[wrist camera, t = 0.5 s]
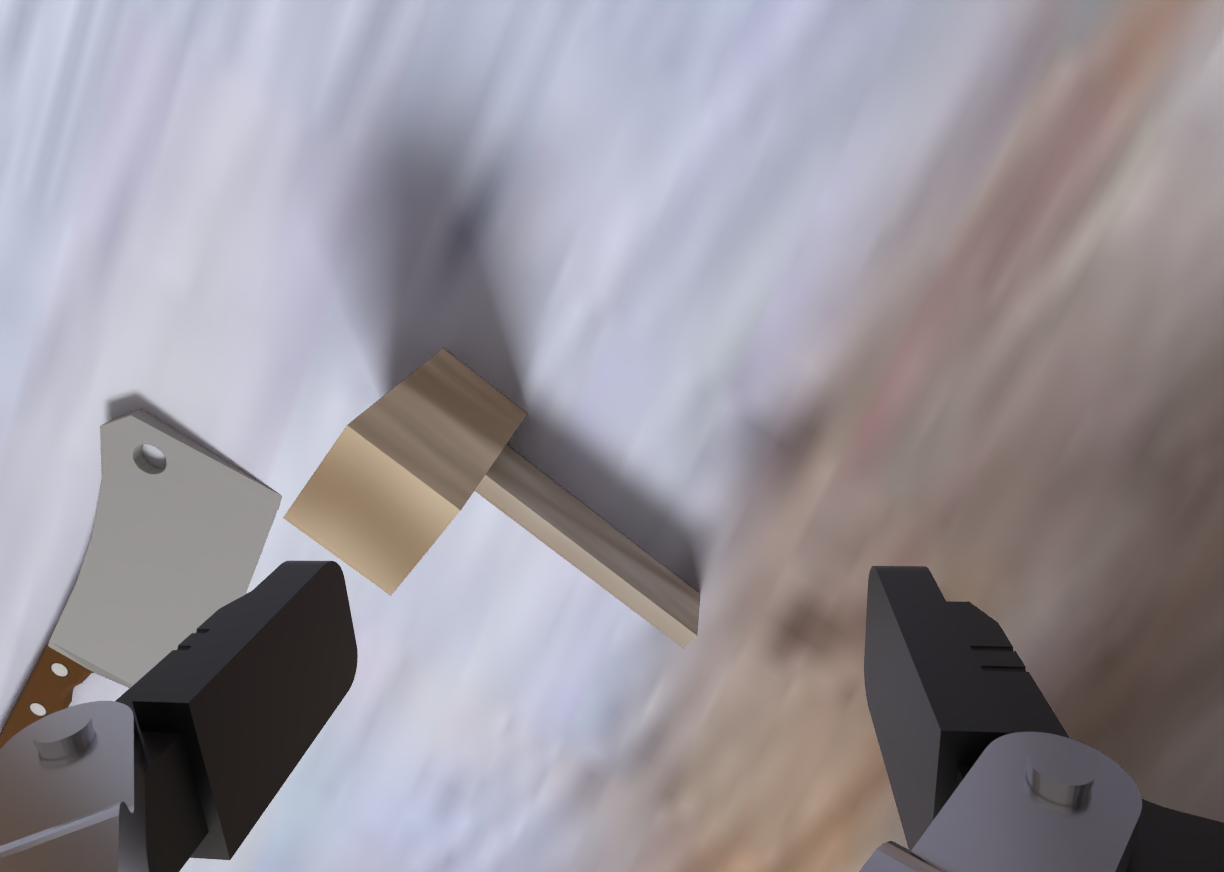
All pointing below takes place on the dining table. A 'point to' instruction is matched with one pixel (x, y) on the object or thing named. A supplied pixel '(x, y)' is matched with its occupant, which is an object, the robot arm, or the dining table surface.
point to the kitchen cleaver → (149, 562)
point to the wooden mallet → (465, 494)
